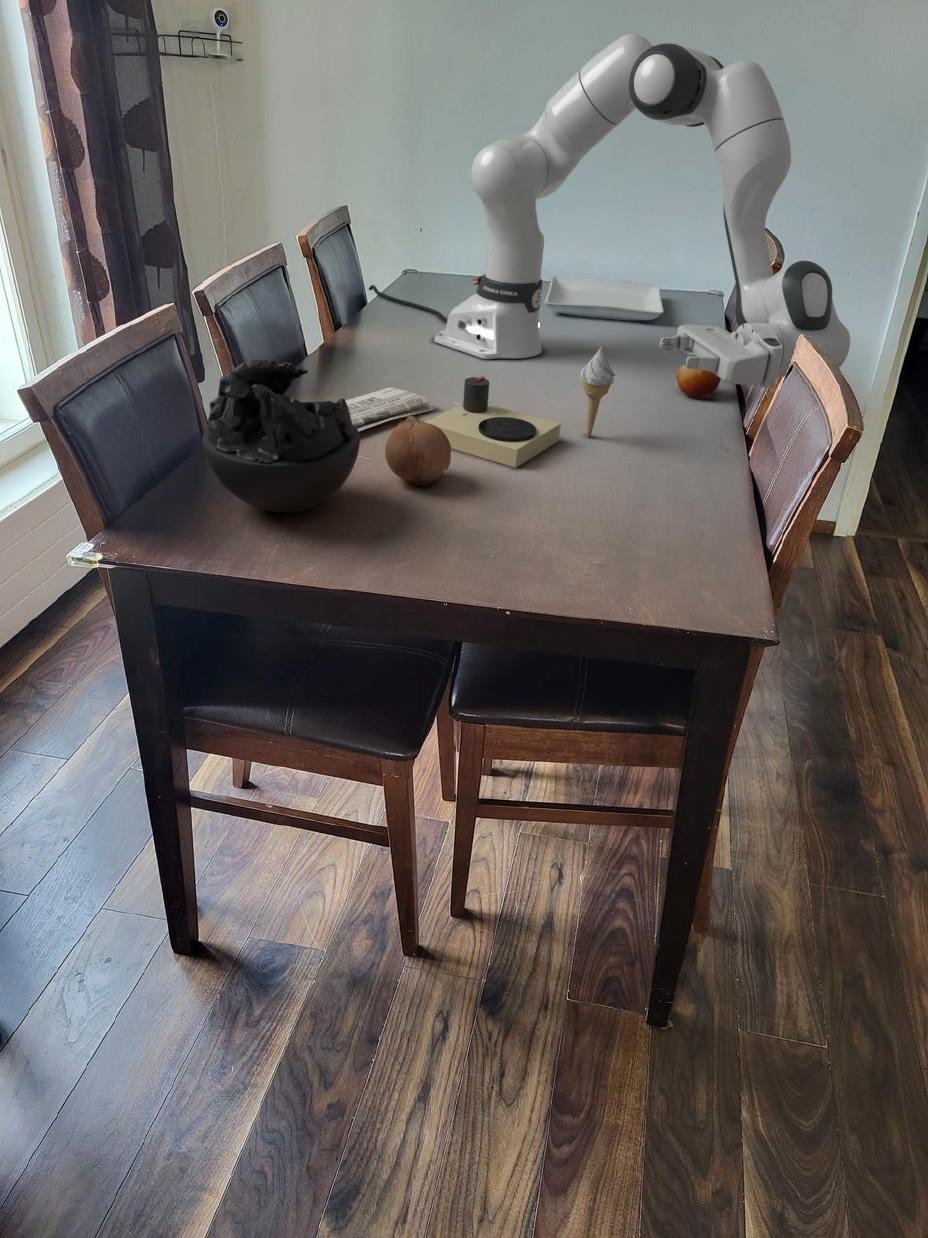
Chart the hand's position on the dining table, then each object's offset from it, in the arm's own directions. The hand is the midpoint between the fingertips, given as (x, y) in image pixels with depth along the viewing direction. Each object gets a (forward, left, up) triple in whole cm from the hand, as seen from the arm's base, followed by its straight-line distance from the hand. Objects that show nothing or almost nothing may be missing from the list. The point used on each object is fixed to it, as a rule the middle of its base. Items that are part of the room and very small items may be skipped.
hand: (673, 352), depth 147 cm
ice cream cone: (-9, -9, -14) cm, 19 cm away
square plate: (-44, +70, -14) cm, 84 cm away
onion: (-21, -41, -14) cm, 48 cm away
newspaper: (-42, -26, -14) cm, 51 cm away
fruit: (-3, +24, -14) cm, 28 cm away
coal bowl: (-30, -59, -14) cm, 67 cm away
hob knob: (-26, -17, -11) cm, 33 cm away
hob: (-20, -21, -14) cm, 32 cm away
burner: (-17, -22, -11) cm, 30 cm away
